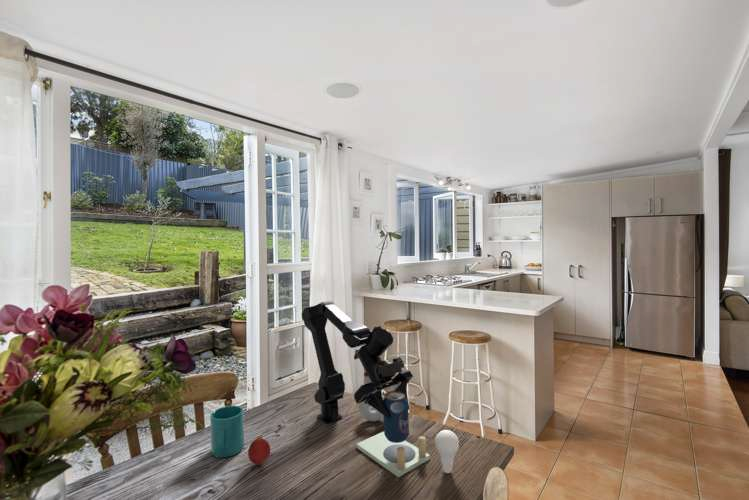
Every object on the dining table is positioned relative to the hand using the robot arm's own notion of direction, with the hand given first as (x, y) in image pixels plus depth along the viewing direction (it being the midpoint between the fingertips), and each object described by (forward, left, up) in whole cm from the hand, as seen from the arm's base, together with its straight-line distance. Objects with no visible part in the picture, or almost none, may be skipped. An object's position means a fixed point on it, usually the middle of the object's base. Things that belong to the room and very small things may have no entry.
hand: (399, 414), depth 102 cm
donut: (-22, +9, -13) cm, 28 cm away
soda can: (-1, 0, -7) cm, 7 cm away
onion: (-24, -30, -13) cm, 41 cm away
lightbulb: (+12, +6, -13) cm, 19 cm away
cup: (-36, -35, -13) cm, 52 cm away
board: (-4, +1, -13) cm, 14 cm away
